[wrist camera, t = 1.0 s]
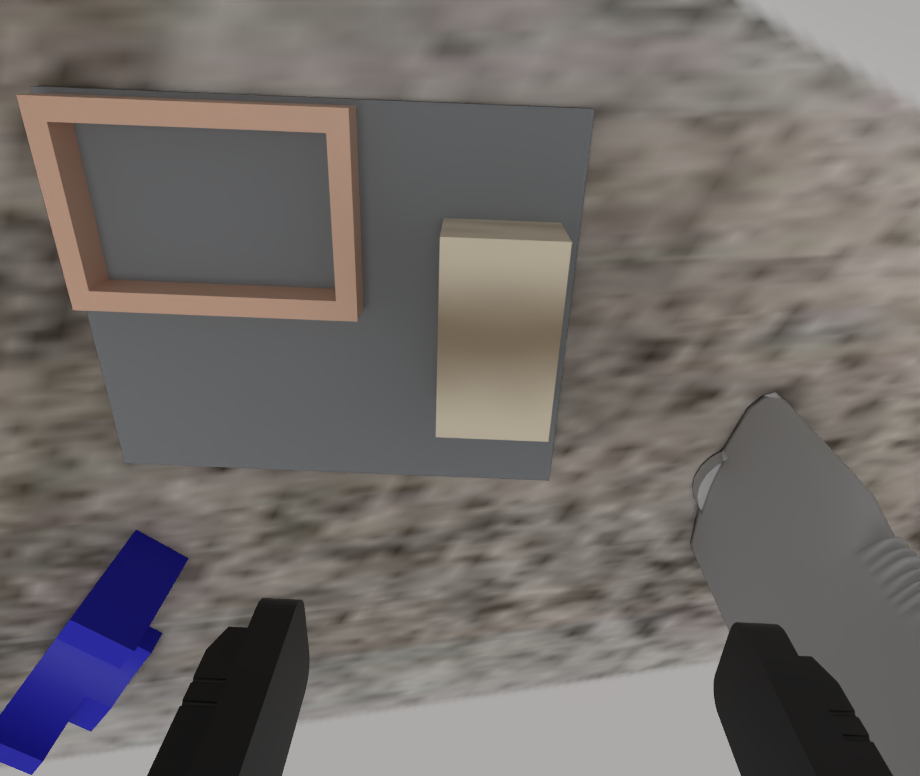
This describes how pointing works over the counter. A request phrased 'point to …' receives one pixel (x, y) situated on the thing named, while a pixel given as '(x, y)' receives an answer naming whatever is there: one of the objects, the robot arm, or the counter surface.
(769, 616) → the tall pale column
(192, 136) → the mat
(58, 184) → the frame
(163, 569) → the cable clip
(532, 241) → the beige rectangular prism
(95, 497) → the counter surface
